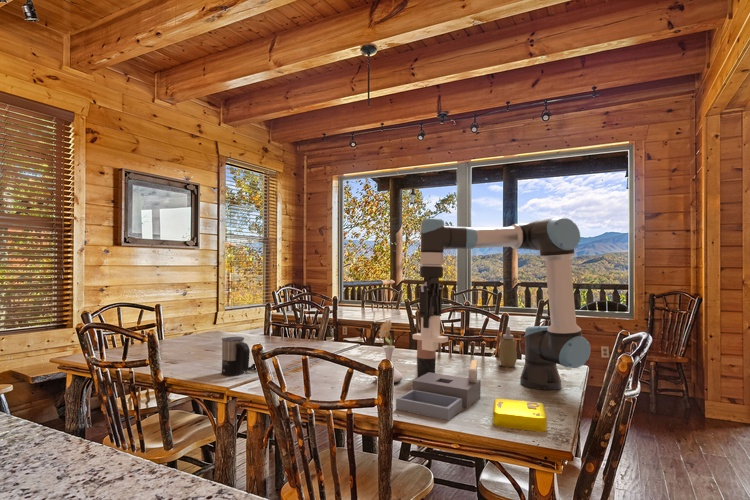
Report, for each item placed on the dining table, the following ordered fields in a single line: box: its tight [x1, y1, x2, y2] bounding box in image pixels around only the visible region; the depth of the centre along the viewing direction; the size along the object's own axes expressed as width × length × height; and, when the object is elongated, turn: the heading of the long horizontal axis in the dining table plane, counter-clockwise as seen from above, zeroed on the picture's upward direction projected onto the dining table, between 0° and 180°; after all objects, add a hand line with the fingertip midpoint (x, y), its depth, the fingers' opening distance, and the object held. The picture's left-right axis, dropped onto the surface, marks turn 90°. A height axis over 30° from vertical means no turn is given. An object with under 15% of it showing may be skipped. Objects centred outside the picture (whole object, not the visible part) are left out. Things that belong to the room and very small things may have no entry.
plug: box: [412, 306, 449, 351], centre depth 144 cm, size 4×11×14 cm, turn 56°
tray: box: [395, 389, 463, 421], centre depth 142 cm, size 18×12×4 cm, turn 59°
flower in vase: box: [373, 319, 403, 384], centre depth 175 cm, size 13×11×25 cm
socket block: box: [411, 372, 482, 409], centre depth 155 cm, size 20×14×6 cm
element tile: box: [492, 398, 548, 433], centre depth 134 cm, size 15×15×5 cm
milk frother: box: [220, 336, 256, 377], centre depth 187 cm, size 14×16×15 cm
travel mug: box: [416, 328, 437, 378], centre depth 181 cm, size 8×8×20 cm
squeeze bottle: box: [498, 326, 518, 368], centre depth 205 cm, size 8×8×18 cm
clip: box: [467, 359, 478, 383], centre depth 161 cm, size 18×3×4 cm, turn 165°
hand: (430, 336), depth 144 cm, fingers closed on plug, 4 cm apart
